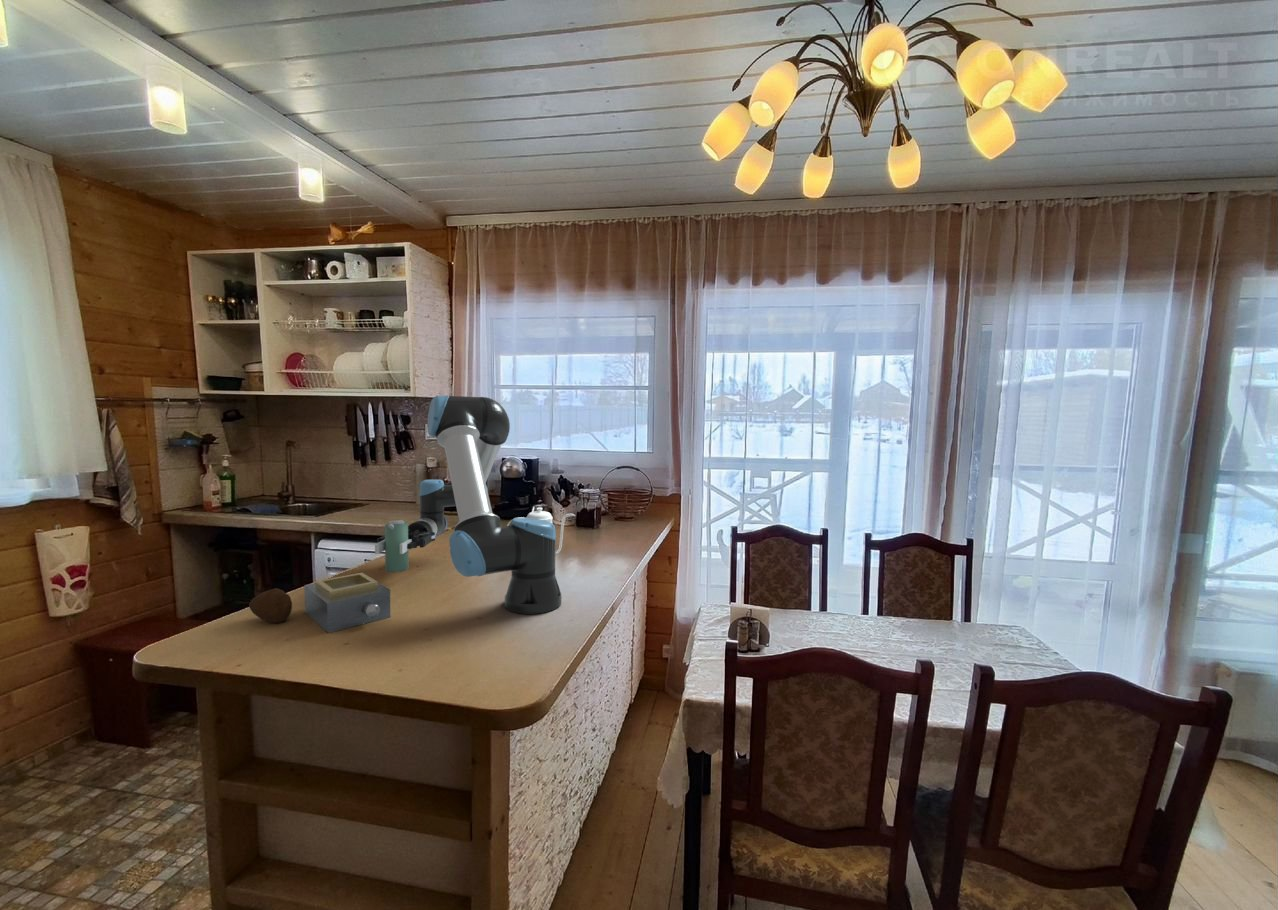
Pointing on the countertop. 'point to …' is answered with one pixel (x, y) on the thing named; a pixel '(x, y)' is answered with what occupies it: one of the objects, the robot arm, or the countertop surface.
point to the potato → (272, 605)
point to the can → (395, 546)
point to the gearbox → (346, 601)
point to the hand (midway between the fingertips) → (388, 549)
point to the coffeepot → (547, 517)
